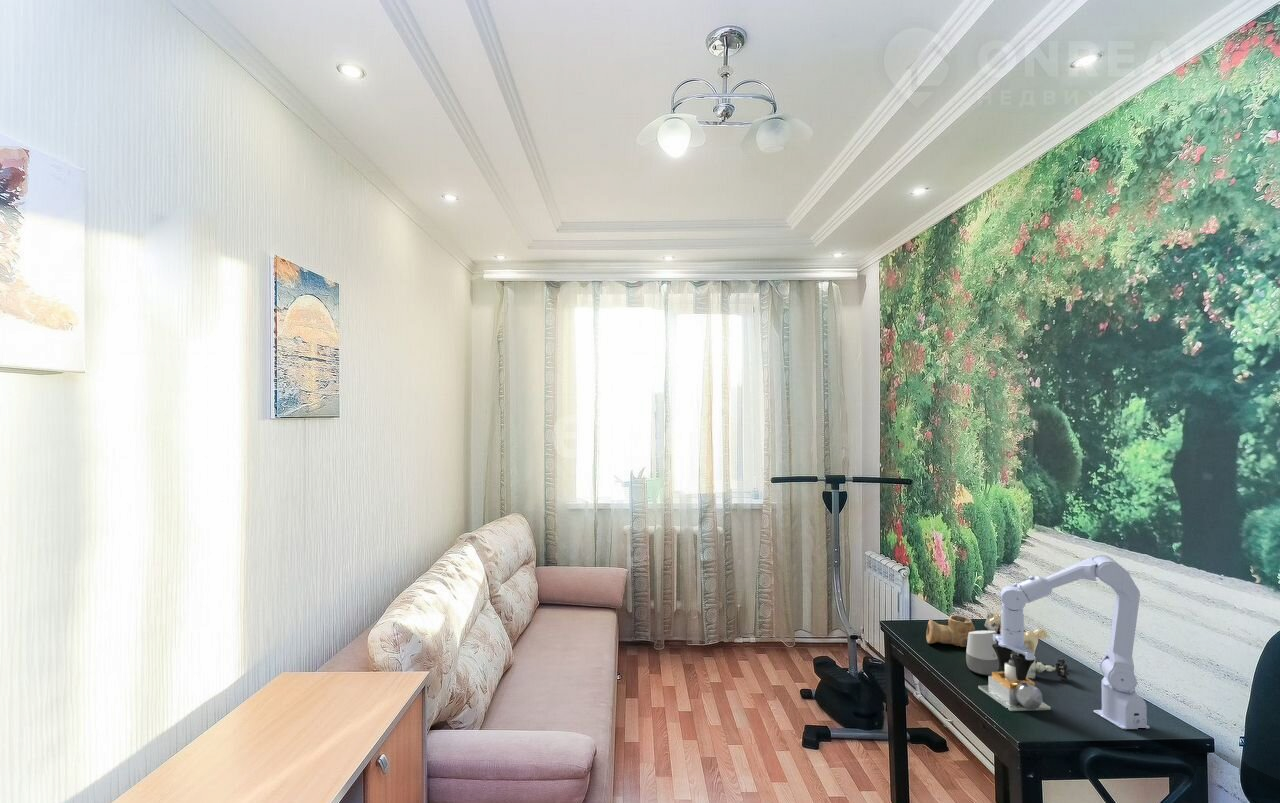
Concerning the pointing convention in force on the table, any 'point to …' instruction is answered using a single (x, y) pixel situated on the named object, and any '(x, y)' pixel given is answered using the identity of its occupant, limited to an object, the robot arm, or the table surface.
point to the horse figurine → (1029, 636)
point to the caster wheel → (994, 626)
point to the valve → (1049, 669)
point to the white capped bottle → (1011, 671)
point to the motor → (1014, 693)
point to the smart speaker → (981, 653)
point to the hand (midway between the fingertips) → (1012, 674)
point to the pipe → (950, 631)
